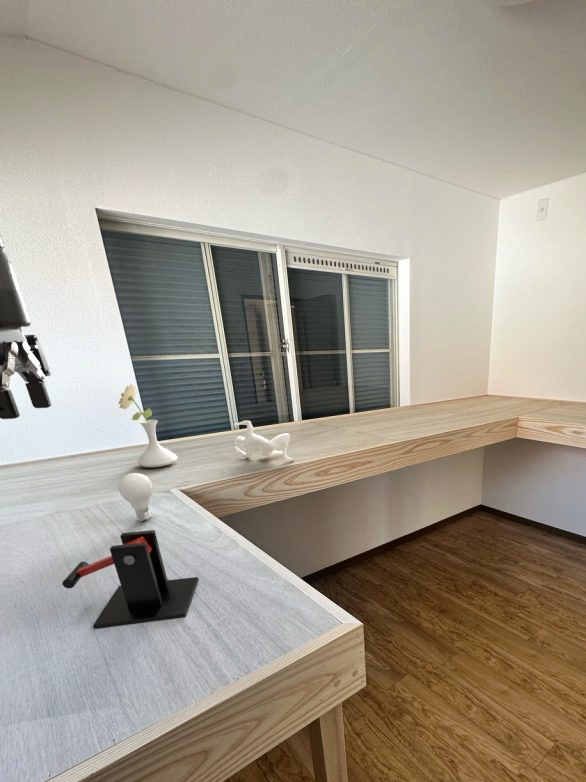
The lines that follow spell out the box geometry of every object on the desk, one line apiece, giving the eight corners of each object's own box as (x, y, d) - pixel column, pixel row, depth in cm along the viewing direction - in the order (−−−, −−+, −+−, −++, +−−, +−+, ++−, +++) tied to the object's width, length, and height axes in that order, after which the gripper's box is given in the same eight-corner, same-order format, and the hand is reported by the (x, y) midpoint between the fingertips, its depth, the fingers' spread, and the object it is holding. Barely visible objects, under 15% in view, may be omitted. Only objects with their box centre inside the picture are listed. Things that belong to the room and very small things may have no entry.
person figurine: (290, 421, 139) (233, 416, 131) (298, 437, 129) (237, 433, 122) (285, 456, 146) (231, 453, 138) (292, 473, 136) (235, 472, 128)
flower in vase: (159, 458, 138) (140, 380, 128) (186, 461, 135) (169, 381, 124) (125, 470, 127) (101, 385, 117) (153, 473, 123) (132, 386, 113)
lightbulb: (138, 528, 89) (125, 480, 85) (122, 522, 92) (109, 475, 88) (166, 518, 94) (155, 472, 89) (150, 512, 97) (138, 467, 93)
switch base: (95, 634, 58) (69, 561, 53) (121, 593, 67) (100, 528, 62) (186, 622, 60) (169, 551, 56) (199, 584, 69) (185, 520, 65)
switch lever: (69, 592, 58) (57, 579, 56) (84, 573, 62) (74, 561, 61) (144, 561, 58) (134, 547, 57) (155, 544, 63) (145, 531, 61)
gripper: (-15, 291, 60) (25, 406, 66) (-97, 280, 47) (-37, 424, 53) (44, 291, 61) (78, 404, 68) (-20, 281, 48) (29, 421, 55)
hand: (27, 412), depth 60 cm, fingers open, 8 cm apart
